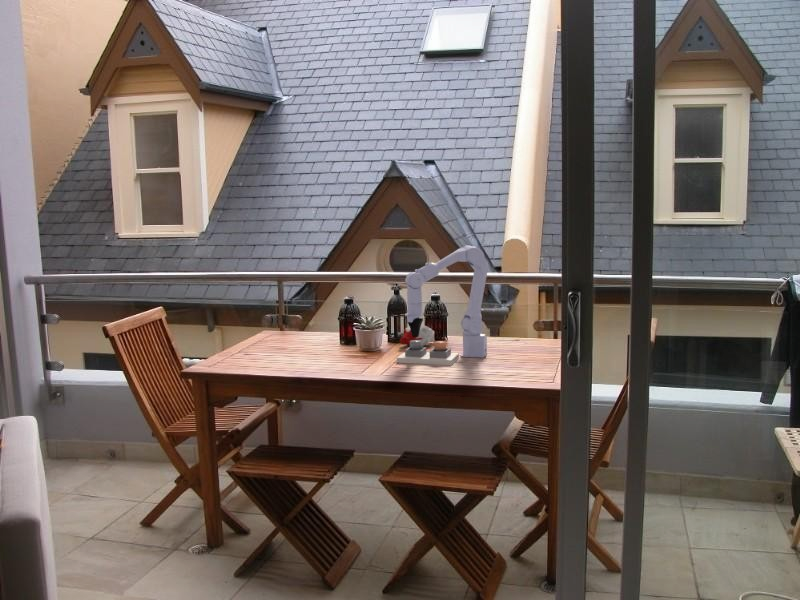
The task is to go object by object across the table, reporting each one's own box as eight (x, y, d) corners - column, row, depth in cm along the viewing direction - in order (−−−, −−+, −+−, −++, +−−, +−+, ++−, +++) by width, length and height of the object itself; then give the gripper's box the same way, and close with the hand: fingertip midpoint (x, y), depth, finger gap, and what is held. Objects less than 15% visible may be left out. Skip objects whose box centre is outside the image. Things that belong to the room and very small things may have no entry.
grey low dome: (422, 346, 317) (422, 340, 317) (419, 349, 313) (419, 342, 313) (411, 346, 319) (411, 339, 318) (408, 348, 314) (408, 342, 314)
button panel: (458, 358, 317) (458, 347, 317) (451, 365, 306) (451, 353, 305) (406, 355, 324) (405, 344, 323) (397, 362, 313) (396, 351, 312)
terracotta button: (447, 347, 314) (447, 341, 314) (444, 350, 310) (444, 343, 309) (436, 347, 316) (435, 340, 315) (432, 349, 311) (432, 343, 311)
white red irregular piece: (435, 342, 344) (415, 353, 333) (414, 339, 351) (393, 350, 340) (433, 323, 342) (413, 333, 331) (412, 320, 349) (391, 330, 337)
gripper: (410, 299, 321) (411, 332, 323) (399, 305, 307) (400, 340, 310) (427, 300, 319) (427, 333, 321) (416, 306, 305) (417, 341, 307)
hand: (415, 336), depth 315 cm, fingers closed
